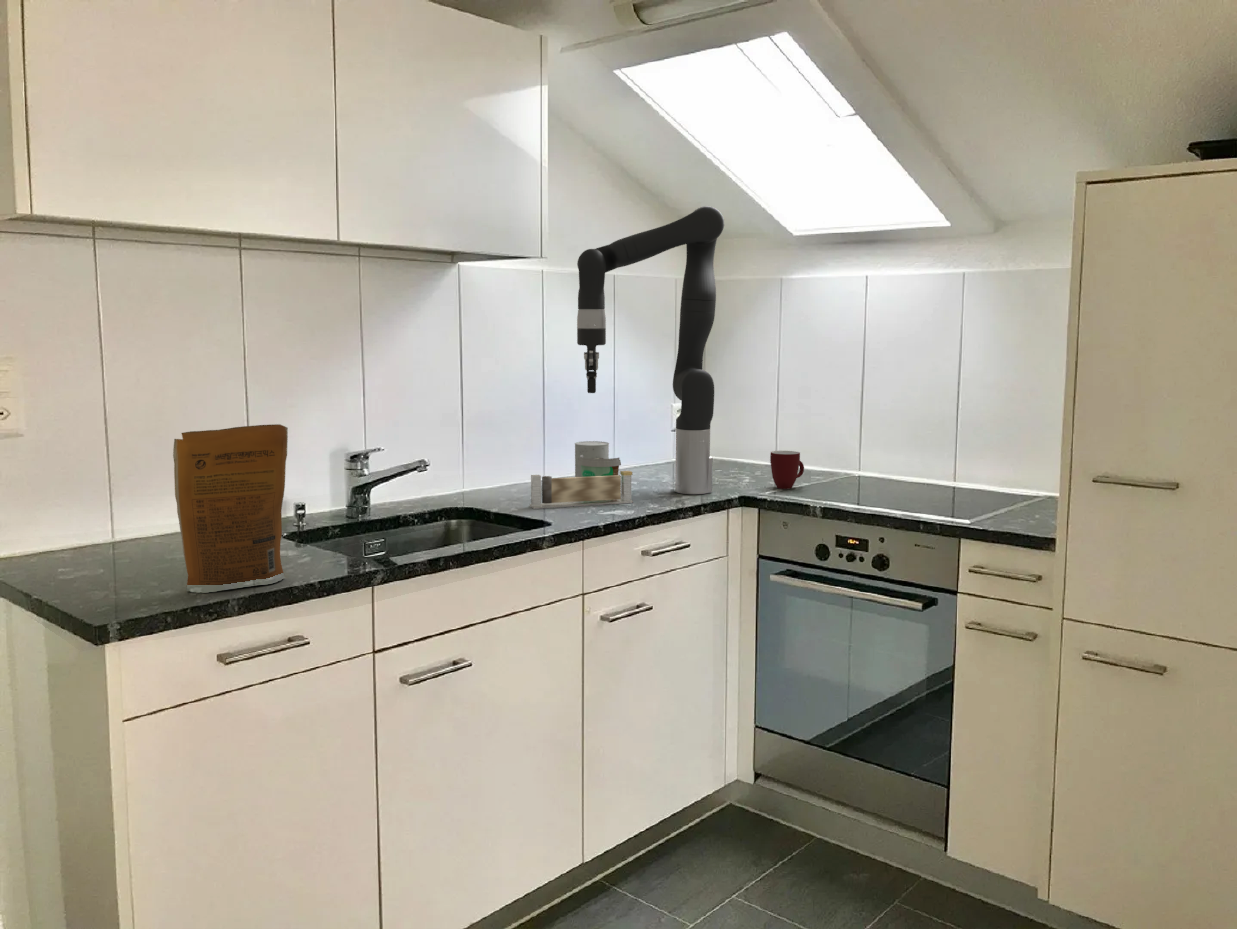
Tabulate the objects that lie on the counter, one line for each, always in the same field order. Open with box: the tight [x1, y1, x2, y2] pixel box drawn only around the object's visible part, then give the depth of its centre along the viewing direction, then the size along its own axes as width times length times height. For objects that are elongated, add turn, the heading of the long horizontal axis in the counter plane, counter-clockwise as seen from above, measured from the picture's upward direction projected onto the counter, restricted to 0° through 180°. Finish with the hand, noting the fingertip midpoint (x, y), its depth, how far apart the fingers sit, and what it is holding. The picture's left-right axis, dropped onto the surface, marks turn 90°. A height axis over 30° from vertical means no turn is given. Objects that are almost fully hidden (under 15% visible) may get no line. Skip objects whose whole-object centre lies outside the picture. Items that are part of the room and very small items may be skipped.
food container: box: [578, 455, 622, 477], centre depth 266 cm, size 12×6×10 cm, turn 62°
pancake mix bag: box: [172, 423, 289, 586], centre depth 171 cm, size 7×19×28 cm, turn 123°
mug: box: [769, 450, 805, 490], centre depth 277 cm, size 11×8×10 cm
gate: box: [541, 474, 621, 504], centre depth 251 cm, size 20×2×6 cm, turn 107°
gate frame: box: [528, 470, 634, 510], centre depth 251 cm, size 26×4×8 cm, turn 110°
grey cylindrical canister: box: [574, 440, 610, 477], centre depth 278 cm, size 10×10×12 cm
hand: (591, 392), depth 265 cm, fingers closed
